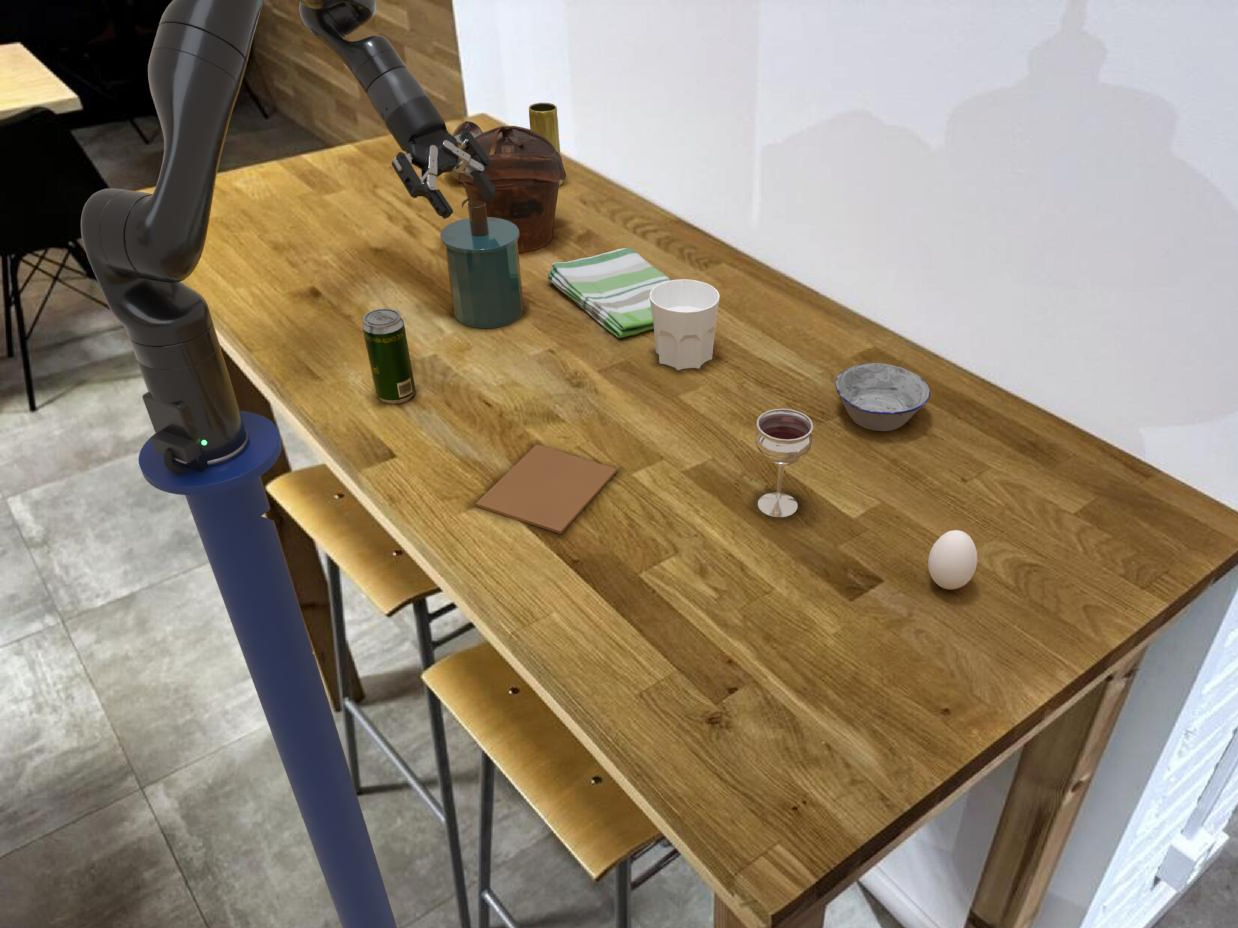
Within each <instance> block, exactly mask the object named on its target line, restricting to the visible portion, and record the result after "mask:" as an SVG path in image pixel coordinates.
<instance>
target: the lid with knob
mask: <svg viewBox="0 0 1238 928" xmlns="http://www.w3.org/2000/svg"><path fill="white" fill-rule="evenodd" d="M467 212H468V217H466V218H461V219H458V220H455V221H453V222H451V223H449V224H447V225H445V226H444V227H443V228H442V229H441V231H440V234H439V237H440V238H439V239H440V241H441V243H442V244H443V245H444V247H445V246H446V247H448V248H450V249H452V250H455V251H458V252H464V253H490V252H495V251H499V250H503V249H505V248H508V247H510V246H512V245H513V244H514V243H516V242H517V241H518V239H519V236H520V234H519V229H518V227H517V226H516V225H515V224H513V223H512V222H510V221H507V220H504V219H500V218H494V217H487V212H486V203H485V202H484V201H480V200H474V201H471V202H469V203H468V202H467Z"/></svg>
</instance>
